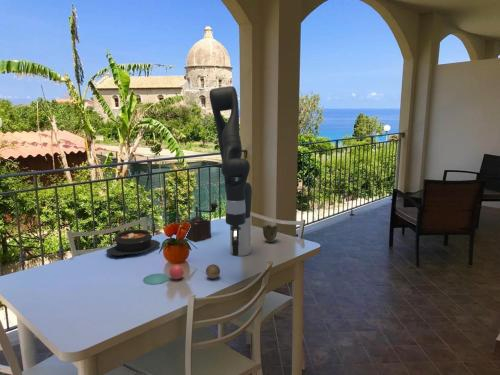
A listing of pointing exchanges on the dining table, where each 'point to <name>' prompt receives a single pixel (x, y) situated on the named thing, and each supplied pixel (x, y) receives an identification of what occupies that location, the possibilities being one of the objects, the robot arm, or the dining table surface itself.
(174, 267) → the object ball
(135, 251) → the casserole
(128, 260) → the dining table surface
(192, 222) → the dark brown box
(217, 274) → the brown ball
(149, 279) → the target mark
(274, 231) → the cup
